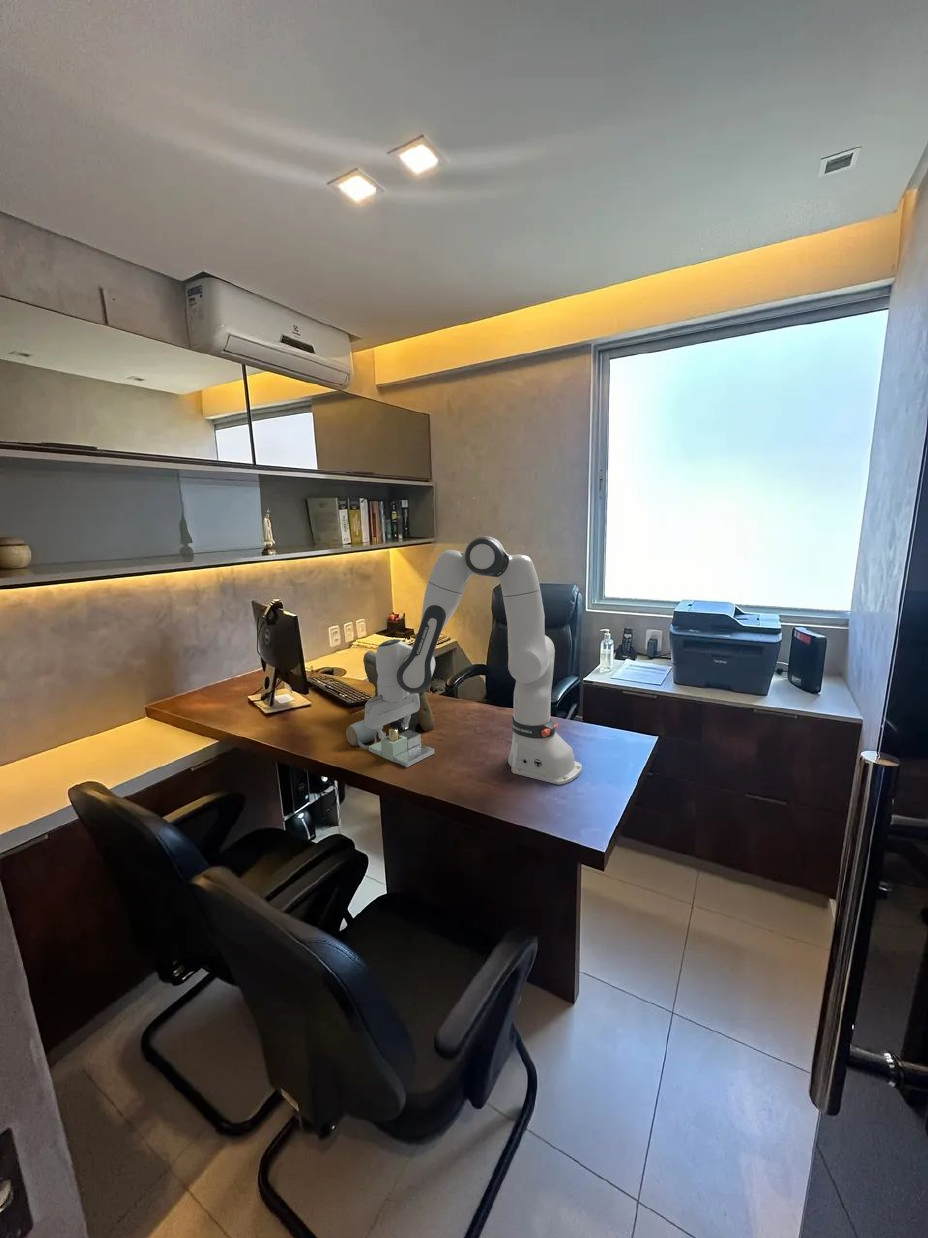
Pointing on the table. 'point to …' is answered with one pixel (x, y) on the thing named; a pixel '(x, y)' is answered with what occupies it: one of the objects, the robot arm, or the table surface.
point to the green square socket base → (389, 747)
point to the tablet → (421, 717)
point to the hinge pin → (393, 734)
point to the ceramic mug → (360, 734)
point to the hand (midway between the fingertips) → (393, 733)
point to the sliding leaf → (413, 750)
